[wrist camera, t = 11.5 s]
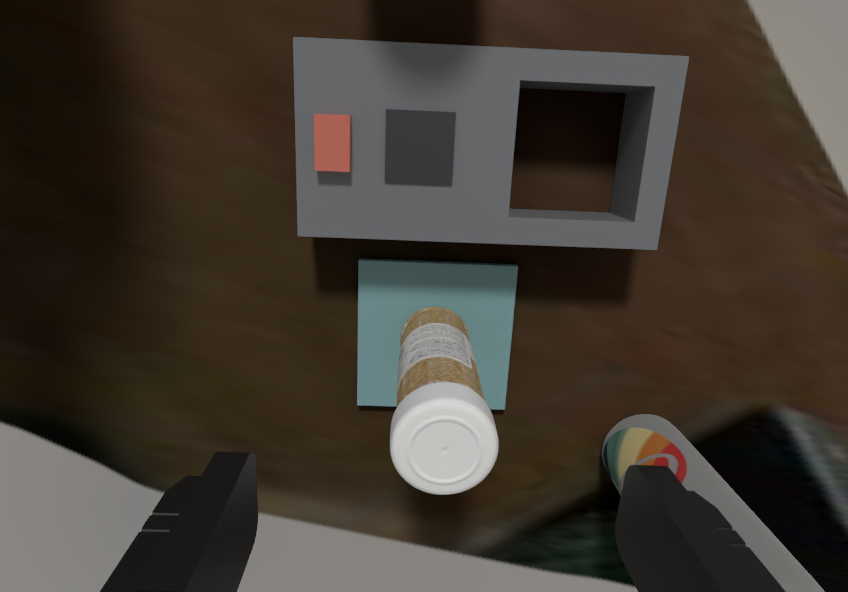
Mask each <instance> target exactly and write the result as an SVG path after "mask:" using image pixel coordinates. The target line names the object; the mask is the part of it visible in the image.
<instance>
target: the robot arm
mask: <svg viewBox="0 0 848 592" xmlns="http://www.w3.org/2000/svg"><path fill="white" fill-rule="evenodd" d="M257 524H258V501H257V477H256V459H255V455H254V453H247V452H216V453H215V454H214V456H213V457H212V459H211V461H210V462H209V464H208V466H207V467H206V469H205V471H204V473H203V474H202V476H186V477H185V478H183V479H182V480H181V481H179V482H178V483H177V484H175V485H174V486H173V487H171V488H170V489H169V490H168V491H166V492H165V494H164V495H163V497H162V498H161V500H160V501H159V503H158V504H157V506H156V507H155V509H154V510H153V514H152V515H151V516H149V518H148V519H147V521H146V522H145V524H144V526H143V527H142V531H141V532H139V533H138V535H137V536H136V538H135V539H134V541H133V542H132V544H131V545H130V547H129V549H128V550H127V551H126V553H125V554H124V556H123V557H122V559H121V561H120V562H119V564H118V565H117V567H116V568H115V570H114V571H113V573H112V574H111V576H110V577H109V579H108V580H107V582H106V583H105V585H104V586H103V588H102V589H101V591H100V592H237V589H238V587H239V584H240V581H241V578H242V576H243V573H244V570H245V567H246V565H247V562H248V559H249V556H250V553H251V551H252V548H253V545H254V541H255V537H256V531H257ZM615 538H616V544H617V548H618V551H619V554H620V556H621V558H622V560H623V562H624V564H625V566H626V568H627V570H628V572H629V574H630V576H631V578H632V580H633V582H634V584H635V586H636V588H637V590H638V592H786V591H785V590H784V589H783V588H782V586H781V585H780V584H779V583H778V582H777V580H776V579H775V578H774V577H773V575H772V574H771V573H770V572H769V571H768V569H767V568H766V567H765V566H764V565H763V563H762V562H761V561H760V560H759V558H758V557H757V556H756V555H755V554H754V552H753V551H752V550H751V549H750V547H746V543H745V541H744V540H743V539H742V538H741V537H740V535H739V534H738V533H737V532H736V531H733V529H732V526H731V524H730V523H729V522H728V521H727V520H726V518H725V517H724V516H723V515H722V513H721V512H720V511H719V510H718V509H717V507H715V506H714V505H712V504H711V503H710V502H708V501H707V500H706V499H704V498H703V497H701V496H700V495H699V494H697V493H696V492H695V491H687V490H686V489H685V487H684V486H683V485H682V483H681V482H680V481H679V480H678V478H677V477H676V476H675V474H674V473H673V472H672V471H671V470H670V468H668V467H667V466H653V465H630V466H629V467H628V468H627V470H626V473H625V478H624V483H623V488H622V493H621V498H620V503H619V508H618V513H617V518H616V524H615Z"/></svg>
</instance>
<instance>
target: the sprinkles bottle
mask: <svg viewBox="0 0 848 592" xmlns="http://www.w3.org/2000/svg"><path fill="white" fill-rule="evenodd" d="M400 345H401V350H400V355H399V367H398V380H397V391H396V400H397V409H396V410H395V412H394V415H393V418H392V423H391V431H390V452H391V457H392V461H393V463H394V466H395V468H396V469H397V471H398V473H399V474H400V475H401V476H402V477H403V479H404V480H405V481H406V482H408V483H409V484H410V485H412V486H413V487H415V488H417V489H419V490H421V491H424V492H427V493H431V494H437V495H450V494H456V493H460V492H463V491H466V490H468V489H470V488H472V487H474V486H475V485H477V484H478V483H480V482H481V481H482V480H483V479H484V478H485V477H486V476H487V475H488V474H489V472H490V471H491V469H492V467H493V466H494V463H495V461H496V458H497V454H498V444H499V443H498V435H497V430H496V426H495V422H494V419H493V416H492V413H491V410H490V408H489V407H488V405H487V404H486V402H485V400H484V396H483V393H482V388H481V384H480V379H479V376H478V368H477V364H476V360H475V357H474V353H473V349H472V346H471V344H470V342H469V331H468V328H467V326H466V324H465V323H464V321H463V320H462V319H461V317H460V316H458V315H457V314H456V313H455V312H453V311H451V310H450V309H447V308H442V307H434V306H432V307H427V308H422V309H420V310H418V311H416V312H415V313H414V314H412V315H411V316H410V317H409V318H408V320H407V321H406V322H405V324H404V325H403V328H402V331H401V337H400Z"/></svg>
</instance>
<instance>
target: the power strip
mask: <svg viewBox="0 0 848 592" xmlns="http://www.w3.org/2000/svg"><path fill="white" fill-rule="evenodd" d="M293 57H294V99H295V140H296V181H297V223H298V236H306V237H332V238H358V239H384V240H410V241H436V242H462V243H488V244H514V245H540V246H566V247H592V248H618V249H644V250H657V247H658V241H659V235H660V229H661V223H662V217H663V211H664V205H665V199H666V193H667V187H668V181H669V175H670V169H671V163H672V157H673V151H674V145H675V139H676V133H677V127H678V121H679V115H680V109H681V103H682V97H683V91H684V85H685V79H686V73H687V67H688V61H689V56H672V55H651V54H631V53H611V52H590V51H570V50H550V49H529V48H509V47H489V46H468V45H448V44H427V43H407V42H387V41H366V40H346V39H326V38H305V37H293ZM519 88H530V89H551V90H573V91H594V92H615V93H626V95H625V102H624V110H623V117H622V124H621V131H620V139H619V146H618V153H617V160H616V167H615V175H614V182H613V189H612V196H611V203H610V211H609V213H605V212H580V211H556V210H531V209H509V204H510V192H511V181H512V169H513V158H514V146H515V134H516V123H517V111H518V100H519Z"/></svg>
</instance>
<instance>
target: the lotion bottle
mask: <svg viewBox="0 0 848 592" xmlns="http://www.w3.org/2000/svg"><path fill="white" fill-rule="evenodd" d="M602 459H603V463H604V466H605V468H606V470H607V472H608V474H609V476H610V478H611V479H612V481H613V483H614V485H615V486H616V488H617V490H618V492H619V493H620V495H621V493H622V488H623V483H624V478H625V473H626V470H627V468H628V467H629V466H630V465H653V466H667V467H668V468H670V470H671V471H672V472H673V473H674V474H675V476H676V477H677V478H678V480H679V481H680V482H681V483H682V485H683V486H684V487H685V489H686V490H687V491H695V492H696V493H697V494H699V495H700V496H701V497H703V498H704V499H706V500H707V501H708V502H710V503H711V504H712V505H714V506H715V507H717V509H718V510H719V511H720V512H721V513H722V515H723V516H724V517H725V518H726V520H727V521H728V522H729V523H730V524H731V526H732V529H733V531H736V532H737V533H738V534H739V535H740V537H741V538H742V539H743V540H744V541H745V543H746V547H750V549H751V550H752V551H753V552H754V554H755V555H756V556H757V557H758V558H759V560H760V561H761V562H762V563H763V565H764V566H765V567H766V568H767V569H768V571H769V572H770V573H771V574H772V575H773V577H774V578H775V579H776V580H777V582H778V583H779V584H780V585H781V586H782V588H783V589H784V590H785V591H786V592H825V591H824V590H823V589H822V588H821V587H820V586H819V584H818V583H817V582H816V581H815V580H814V579H813V578H812V577H811V575H810V574H809V573H808V572H807V571H806V570H805V569H804V568H803V567H802V565H801V564H800V563H799V562H798V561H797V560H796V559H795V558H794V557H793V555H792V554H791V553H790V552H789V551H788V550H787V549H786V548H785V547H784V546H783V544H782V543H781V542H780V541H779V540H778V539H777V538H776V537H775V536H774V535H773V533H772V532H771V531H770V530H769V529H768V528H767V527H766V526H765V525H764V524H763V522H762V521H761V520H760V519H759V518H758V517H757V516H756V515H755V514H754V513H753V511H752V510H751V509H750V508H749V507H748V506H747V505H746V504H745V503H744V502H743V500H742V499H741V498H740V497H739V496H738V495H737V494H736V493H735V492H734V491H733V489H732V488H731V487H730V486H729V485H728V484H727V483H726V482H725V481H724V480H723V478H722V477H721V476H720V475H719V474H718V473H717V472H716V471H715V470H714V469H713V467H712V466H711V465H710V464H709V463H708V462H707V461H706V460H705V459H704V458H703V456H702V455H701V454H700V453H699V452H698V451H697V450H696V449H695V448H694V447H693V445H692V444H691V443H690V442H689V441H688V440H687V439H686V438H685V437H684V436H683V435H682V434H681V433H680V432H679V430H678V429H677V428H676V427H675V426H673V425H672V424H671V423H670V422H669V421H667V420H665V419H664V418H662V417H659V416H656V415H651V414H639V415H634V416H631V417H628V418H626V419H624V420H622V421H620V422H619V423H617V424H616V425H615V426H614V427H613V428H612V429H611V430H610V431H609V433H608V434H607V436H606V437H605V440H604V442H603V446H602Z"/></svg>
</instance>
